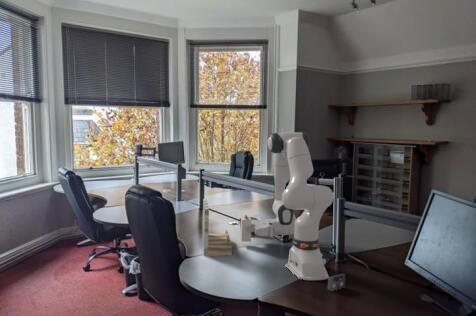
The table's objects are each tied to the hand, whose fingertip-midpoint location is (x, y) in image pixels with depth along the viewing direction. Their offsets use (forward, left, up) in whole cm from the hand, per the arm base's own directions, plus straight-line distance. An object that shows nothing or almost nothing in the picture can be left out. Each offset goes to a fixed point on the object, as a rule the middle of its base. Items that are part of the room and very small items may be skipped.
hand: (244, 227), depth 201 cm
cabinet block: (0, -1, -7) cm, 7 cm away
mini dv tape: (-55, -31, -11) cm, 64 cm away
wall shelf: (-2, +14, -10) cm, 18 cm away
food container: (+21, -7, -11) cm, 25 cm away
